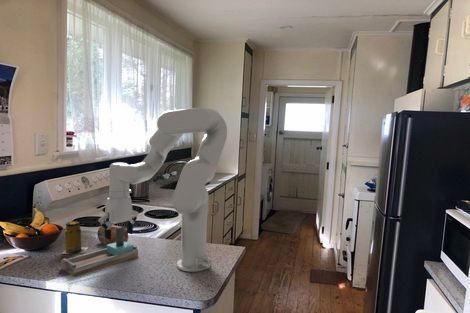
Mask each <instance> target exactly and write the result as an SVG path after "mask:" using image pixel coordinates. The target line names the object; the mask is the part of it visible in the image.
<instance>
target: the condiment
mask: <svg viewBox="0 0 470 313" xmlns="http://www.w3.org/2000/svg"><path fill="white" fill-rule="evenodd" d="M80 224H81V222H79V221H73V220H72V221H69V222H66V224H65V230H64V236H65V237H64V239H65V240H64V241H65V242H64V244H65V245H64V247H65V250H64V251H63V252H62V253H61V254H62V255H64V254H65V255H70V254H72V255H73V254H85V252H86V251H87V250H88V249H89V247H88V246H85V247H84V246H83V247H82V229H81V225H80Z"/></svg>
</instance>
